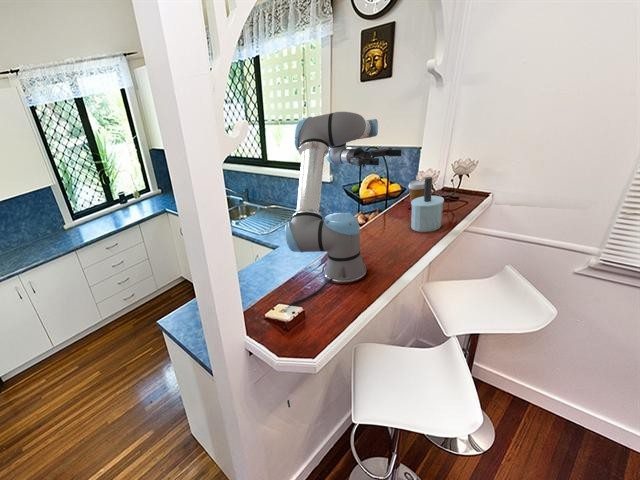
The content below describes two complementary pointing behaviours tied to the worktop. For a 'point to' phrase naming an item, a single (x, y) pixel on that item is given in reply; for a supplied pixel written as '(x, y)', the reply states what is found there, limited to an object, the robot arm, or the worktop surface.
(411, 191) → the disposable coffee cup
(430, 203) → the lid
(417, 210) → the light blue pot
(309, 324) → the worktop surface
